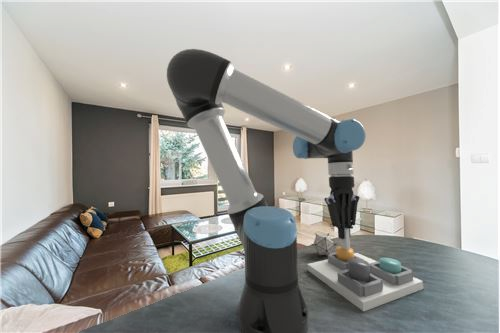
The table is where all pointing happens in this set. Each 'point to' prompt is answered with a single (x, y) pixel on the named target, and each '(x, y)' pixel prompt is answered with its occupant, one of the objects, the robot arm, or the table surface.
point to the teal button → (390, 265)
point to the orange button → (344, 254)
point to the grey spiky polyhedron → (323, 244)
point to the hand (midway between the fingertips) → (345, 248)
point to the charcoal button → (359, 269)
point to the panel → (365, 282)
